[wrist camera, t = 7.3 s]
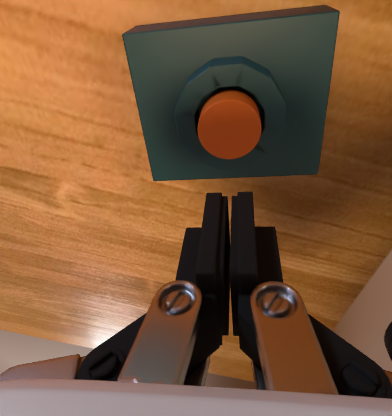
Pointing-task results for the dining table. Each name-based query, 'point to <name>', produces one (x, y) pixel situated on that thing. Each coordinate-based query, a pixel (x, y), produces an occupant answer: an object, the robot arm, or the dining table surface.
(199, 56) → the teal box orange button
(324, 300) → the dining table surface
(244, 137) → the orange round cap
